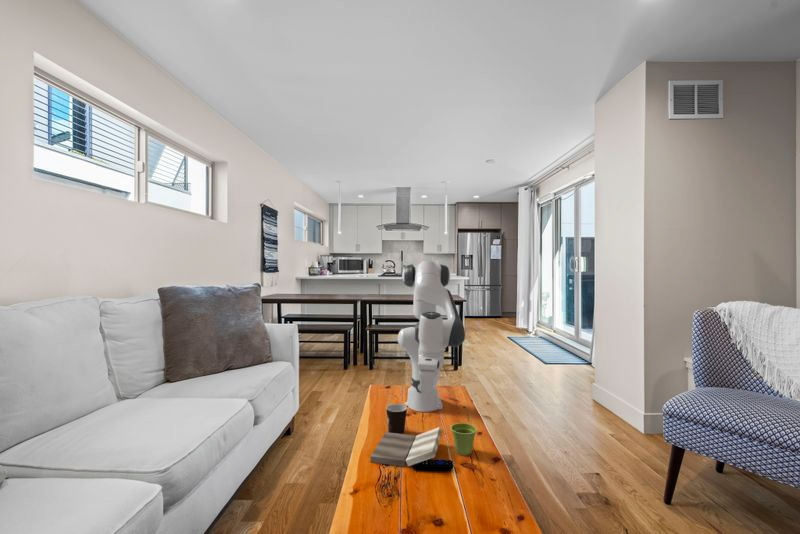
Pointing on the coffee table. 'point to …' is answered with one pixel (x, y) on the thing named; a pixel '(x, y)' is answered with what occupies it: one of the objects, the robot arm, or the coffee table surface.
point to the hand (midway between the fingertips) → (430, 399)
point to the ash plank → (424, 446)
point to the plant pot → (463, 437)
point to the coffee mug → (396, 418)
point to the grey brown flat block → (393, 449)
